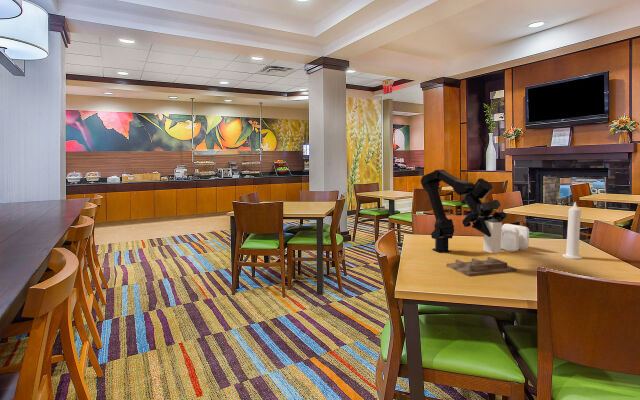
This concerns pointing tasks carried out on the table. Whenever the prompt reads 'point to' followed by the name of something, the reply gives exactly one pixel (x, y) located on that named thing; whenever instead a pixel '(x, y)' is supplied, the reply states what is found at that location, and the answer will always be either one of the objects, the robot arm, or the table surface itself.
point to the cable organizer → (514, 237)
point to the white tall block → (493, 236)
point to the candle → (573, 233)
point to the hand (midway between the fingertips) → (495, 235)
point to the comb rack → (481, 267)
